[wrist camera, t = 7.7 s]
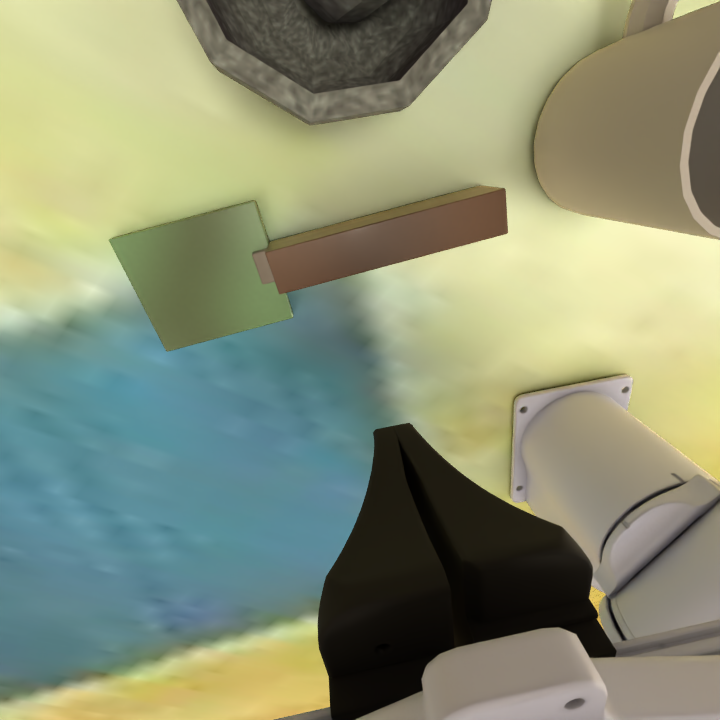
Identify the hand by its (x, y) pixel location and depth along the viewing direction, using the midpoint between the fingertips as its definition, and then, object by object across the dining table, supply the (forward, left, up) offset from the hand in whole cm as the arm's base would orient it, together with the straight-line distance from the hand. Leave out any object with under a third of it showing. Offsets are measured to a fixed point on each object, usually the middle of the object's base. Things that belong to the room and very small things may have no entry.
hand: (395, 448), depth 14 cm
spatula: (+5, +2, -10) cm, 11 cm away
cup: (+10, -13, -10) cm, 19 cm away
